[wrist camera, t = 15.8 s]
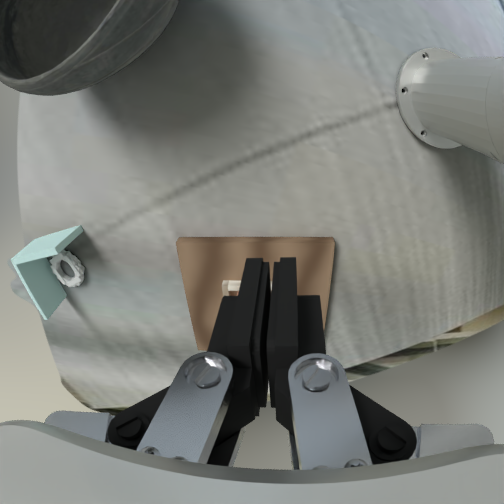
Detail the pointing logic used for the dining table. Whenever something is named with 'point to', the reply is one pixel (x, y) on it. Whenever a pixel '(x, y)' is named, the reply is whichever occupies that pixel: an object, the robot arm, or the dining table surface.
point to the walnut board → (232, 266)
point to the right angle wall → (48, 269)
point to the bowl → (74, 40)
